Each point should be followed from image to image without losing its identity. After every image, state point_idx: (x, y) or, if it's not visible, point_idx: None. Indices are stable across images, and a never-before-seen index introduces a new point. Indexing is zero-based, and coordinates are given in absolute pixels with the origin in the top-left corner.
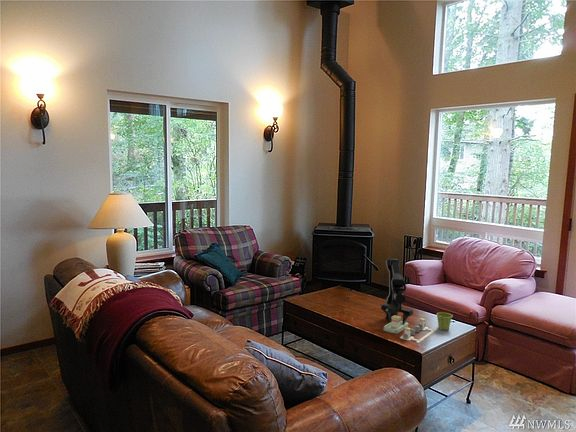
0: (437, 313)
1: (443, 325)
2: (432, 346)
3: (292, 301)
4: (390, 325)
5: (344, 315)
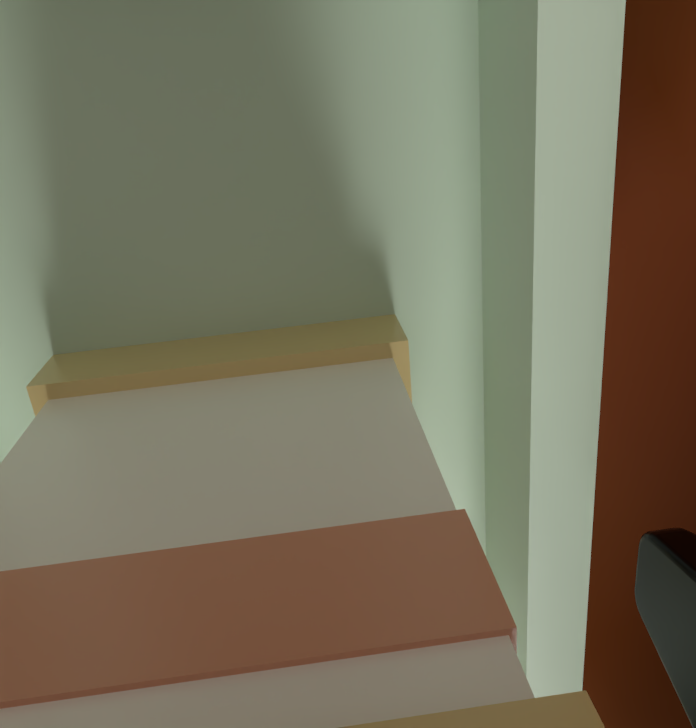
0: None
1: None
2: None
3: None
4: (496, 446)
5: None
